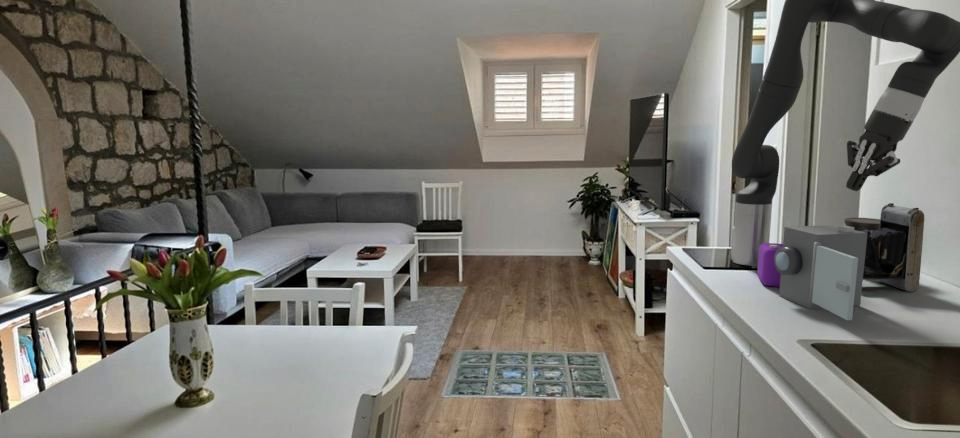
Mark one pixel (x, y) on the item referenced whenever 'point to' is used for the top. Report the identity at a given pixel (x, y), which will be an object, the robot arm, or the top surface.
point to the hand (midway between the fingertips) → (851, 189)
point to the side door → (833, 281)
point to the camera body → (799, 258)
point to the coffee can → (863, 223)
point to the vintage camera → (896, 248)
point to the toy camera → (768, 264)
